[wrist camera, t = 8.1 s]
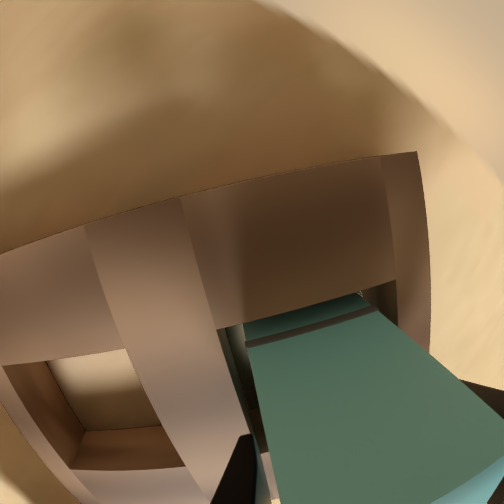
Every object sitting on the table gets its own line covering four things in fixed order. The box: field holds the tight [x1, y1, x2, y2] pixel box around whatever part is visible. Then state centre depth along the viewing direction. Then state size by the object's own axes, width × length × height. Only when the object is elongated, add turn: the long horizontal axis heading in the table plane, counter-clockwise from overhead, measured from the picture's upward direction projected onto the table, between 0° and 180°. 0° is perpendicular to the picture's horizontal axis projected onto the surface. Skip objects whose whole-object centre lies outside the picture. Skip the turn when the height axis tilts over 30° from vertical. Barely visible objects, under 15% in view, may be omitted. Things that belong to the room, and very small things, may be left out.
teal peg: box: [243, 292, 504, 504], centre depth 8 cm, size 4×4×10 cm
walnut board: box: [0, 151, 431, 504], centre depth 11 cm, size 14×18×3 cm
